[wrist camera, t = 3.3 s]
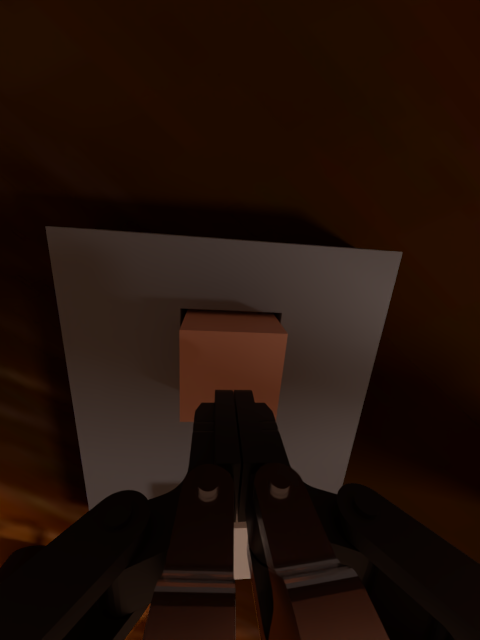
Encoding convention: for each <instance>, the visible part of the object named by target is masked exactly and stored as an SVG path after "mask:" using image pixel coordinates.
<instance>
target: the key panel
mask: <svg viewBox="0 0 480 640" xmlns="http://www.w3.org/2000/svg"><path fill="white" fill-rule="evenodd" d="M45 228H46V234H47V241H48V247H49V254H50V260H51V267H52V273H53V280H54V286H55V292H56V299H57V305H58V312H59V318H60V325H61V331H62V338H63V344H64V351H65V357H66V363H67V370H68V376H69V383H70V389H71V396H72V402H73V409H74V415H75V422H76V428H77V434H78V441H79V447H80V454H81V460H82V467H83V473H84V480H85V486H86V493H87V499H88V505H89V511H90V510H91V509H92V508H93V507H95V506H96V505H97V504H98V503H99V502H101V501H102V500H103V499H105V498H106V497H108V496H110V495H111V494H114V493H116V492H119V491H123V490H135V491H138V492H140V493H142V494H143V495H144V496H145V497H146V498H147V500H149V499H152V498H155V497H158V496H160V495H163V494H166V493H168V492H170V491H171V490H173V489H174V488H176V487H177V486H178V485H179V484H180V483H181V482H182V481H183V480H184V478H185V476H186V474H187V472H188V467H189V459H190V450H191V441H192V433H193V424H194V422H180V348H179V330H180V327H181V325H182V322H183V320H184V317H185V315H186V312H187V310H188V309H207V310H230V311H252V312H273V314H274V315H275V317H276V318H277V319H278V321H279V322H280V324H281V325H282V326H283V328H284V329H285V331H286V332H287V333H288V337H287V344H286V351H285V359H284V366H283V373H282V380H281V388H280V395H279V402H278V409H277V417H276V423H277V426H278V431H279V433H280V436H281V439H282V442H283V445H284V448H285V451H286V454H287V457H288V460H289V463H290V466H291V468H292V469H294V470H295V471H296V472H297V473H298V474H299V475H300V477H301V478H302V480H303V482H304V483H306V484H308V485H310V486H312V487H314V488H317V489H320V490H324V491H328V492H331V493H335V494H337V493H338V491H339V489H340V488H341V487H342V485H343V481H344V477H345V473H346V469H347V465H348V461H349V457H350V454H351V450H352V446H353V442H354V438H355V434H356V430H357V427H358V423H359V419H360V415H361V411H362V407H363V403H364V400H365V396H366V392H367V388H368V384H369V380H370V376H371V373H372V369H373V365H374V361H375V357H376V353H377V349H378V345H379V342H380V338H381V334H382V330H383V326H384V322H385V318H386V315H387V311H388V307H389V303H390V299H391V295H392V291H393V288H394V284H395V280H396V276H397V272H398V268H399V264H400V261H401V257H402V253H403V252H395V251H384V250H373V249H362V248H350V247H336V246H323V245H309V244H295V243H282V242H268V241H255V240H241V239H227V238H214V237H200V236H186V235H173V234H159V233H145V232H132V231H118V230H105V229H90V228H71V227H52V226H45Z"/></svg>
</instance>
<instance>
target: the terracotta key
mask: <svg viewBox="0 0 480 640" xmlns="http://www.w3.org/2000/svg"><path fill="white" fill-rule="evenodd" d="M287 337H288V333H287V332H286V331H285V329H284V328H283V326H282V325H281V324H280V322H279V321H278V319H277V318H276V317H275V315H274V314H273V312H252V311H230V310H207V309H188V310H187V312H186V315H185V317H184V320H183V322H182V325H181V327H180V330H179V348H180V422H194V415H195V411H196V409H197V408H198V406H199V405H200V404H201V403H214V399H215V390H233V392H234V390H252V392H253V397H254V401H255V403H266V405H267V406H268V407H269V408H270V409H271V410H272V411H273V414H274V417H275V420H276V417H277V409H278V402H279V395H280V388H281V380H282V373H283V366H284V359H285V351H286V344H287Z"/></svg>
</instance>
